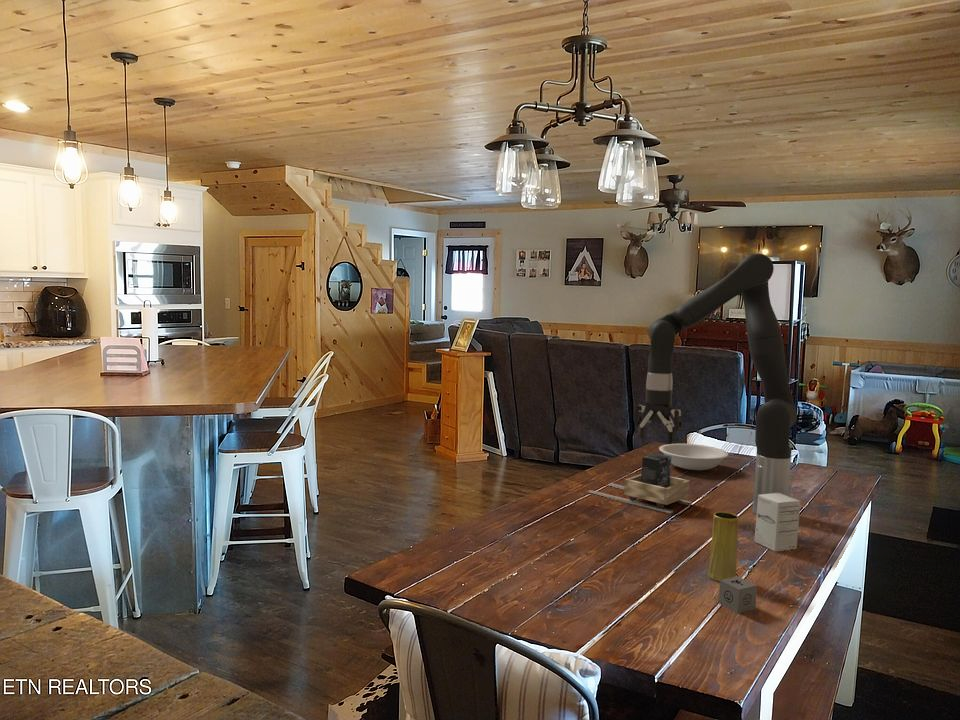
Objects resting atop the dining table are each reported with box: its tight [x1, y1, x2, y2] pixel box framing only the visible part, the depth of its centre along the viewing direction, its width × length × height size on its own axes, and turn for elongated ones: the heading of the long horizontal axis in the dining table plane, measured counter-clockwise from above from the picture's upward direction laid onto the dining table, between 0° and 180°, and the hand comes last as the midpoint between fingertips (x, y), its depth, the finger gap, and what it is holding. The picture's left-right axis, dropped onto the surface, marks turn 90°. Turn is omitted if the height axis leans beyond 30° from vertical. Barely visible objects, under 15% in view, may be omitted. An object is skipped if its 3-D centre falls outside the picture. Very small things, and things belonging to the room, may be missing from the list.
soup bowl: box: [658, 443, 729, 471], centre depth 261 cm, size 24×24×7 cm
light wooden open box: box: [623, 473, 691, 508], centre depth 216 cm, size 14×14×6 cm
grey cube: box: [718, 575, 758, 614], centre depth 146 cm, size 5×5×5 cm
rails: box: [587, 482, 693, 515], centre depth 221 cm, size 28×14×1 cm, turn 48°
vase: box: [707, 511, 739, 583], centre depth 160 cm, size 6×6×14 cm
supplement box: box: [754, 493, 802, 552], centre depth 182 cm, size 7×7×13 cm
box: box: [640, 452, 672, 488], centre depth 216 cm, size 8×6×11 cm
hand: (657, 441), depth 215 cm, fingers open, 8 cm apart
